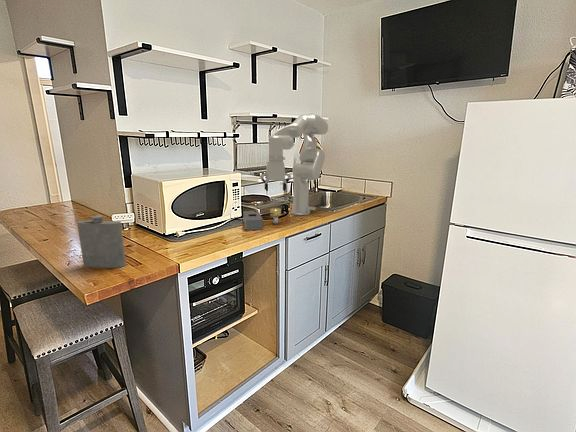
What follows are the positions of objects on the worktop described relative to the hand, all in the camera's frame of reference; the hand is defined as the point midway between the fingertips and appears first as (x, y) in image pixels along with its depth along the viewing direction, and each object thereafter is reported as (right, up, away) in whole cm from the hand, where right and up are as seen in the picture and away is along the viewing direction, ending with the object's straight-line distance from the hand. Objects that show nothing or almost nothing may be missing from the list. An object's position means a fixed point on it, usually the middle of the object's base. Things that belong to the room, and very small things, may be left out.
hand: (275, 190), depth 182 cm
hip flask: (-64, -33, -55) cm, 91 cm away
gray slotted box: (-13, -19, +2) cm, 23 cm away
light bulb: (0, -18, +5) cm, 19 cm away
